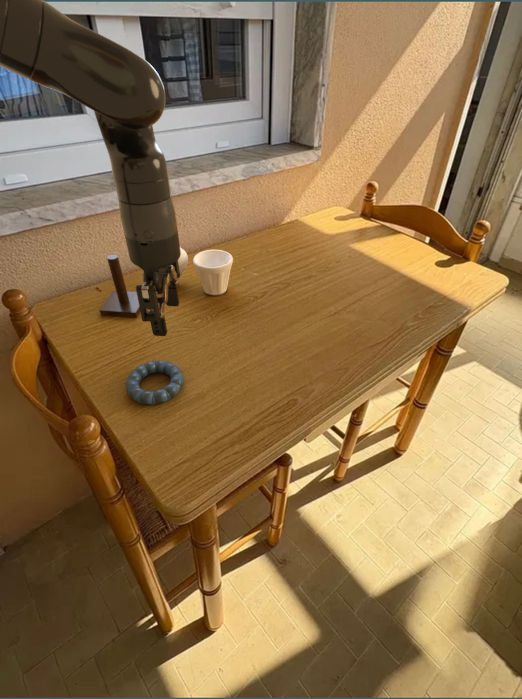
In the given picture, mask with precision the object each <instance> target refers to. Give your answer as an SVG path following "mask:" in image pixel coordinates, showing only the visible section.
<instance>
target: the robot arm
mask: <svg viewBox="0 0 522 699" xmlns="http://www.w3.org/2000/svg"><path fill="white" fill-rule="evenodd" d="M0 67H1V68H3V69H5V70H7V71H8V72H11V73H14V74H16V75H17V76H19V77H21V78H24V79H25V80H28V81H31V82H33V83H35V84H37V85H39V86H42V87H45V88H48V89H50V90H53V91H56V92H58V93H60V94H63V95H65V96H66V97H69V98H70V99H72V100H73V101H75V102H77V103H79V104H80V105H83V106H84V107H86V108H89V109H90V110H92V111H93V113H94V116H95V119H96V122H97V125H98V128H99V131H100V134H101V136H102V140H103V143H104V145H105V148H106V150H107V153H108V157H109V160H110V161H109V162H110V168H111V172H112V177H113V178H112V179H113V183H114V187H115V190H116V195H117V196H116V197H117V200H118V208H119V218H120V221H121V227H122V230H123V235H124V240H125V243H126V247H127V251H128V257H129V261H130V262H131V264H133V265H134V266H136V267H138V268H140V269H141V270H142V271H143V272H142V280H141V281H142V283H143V284H137V285H136V287H135V292H137V297H138V301H139V306H140V316H141V321H142V322H149V323H150V327H151V331H152V332H151V333H152V334H153V336H155V337H166V336H167V335H168V328H167V322H166V321H167V320H166V317H165V305H166V306H167V307H179V305H180V298H179V291H178V287H179V280H177V278H179V277H180V271H179V265H178V259H179V258H180V255H181V251H180V247H181V245H180V238H179V228H178V222H177V215H176V208H175V205H174V201H173V197H172V191H171V184H170V176H169V170H168V163H167V161H166V157H165V154H164V153H163V151H162V149H161V148H160V146H159V145H158V143H157V141H156V137H155V132H154V127H153V125H155V124H156V123H157V122H158V121H159V120H160V119H161V117H162V115H163V113H164V111H165V107H166V92H165V87H164V83H163V81H162V79H161V77H160V75H159V73H158V71H156V69H155V68H154V67H153V66H152V65H151V63H149V62H148V61H147V60H145V59H144V58H143V57H142V56H140V55H139V54H137V53H135V52H134V51H132V50H130V49H129V48H127V47H125V46H123V45H122V44H119V43H117V42H116V41H114V40H112V39H111V38H108V37H106V36H104V35H102V34H100V33H98V32H96V31H94V30H92V29H90V28H89V27H86V26H85V25H82V24H80V23H78V22H76V21H75V20H73V19H71V18H70V17H68V16H67V15H66V14H64V13H63V12H61V11H60V10H58V9H57V8H56V7H55V6H53V5H52V4H50V3H49V2H46V0H0ZM158 295H161V296H160V297H158Z"/></svg>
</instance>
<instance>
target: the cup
mask: <svg viewBox="0 0 522 699" xmlns="http://www.w3.org/2000/svg"><path fill="white" fill-rule="evenodd" d="M192 262H193V266H194V269H195V270H196V273H197V276H198V279H199V281H200V283H201V284H200V285H201V287H202V289H203V292H204V293H205V294H206V295H208V296H211V297H213V296H214V297H215V296H216V297H218V296H221V295H224V294H225V293H226V292H227V290H228V285H229V280H230V274H231V269H232V266H233V263H234V258H233V256H232V254H231V253H230V252H228V251H225V250H222V249H207V250H206V249H205V250H203V251H200V252H197V253H196V254H195V255H194V257H193V259H192Z"/></svg>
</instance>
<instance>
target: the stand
mask: <svg viewBox="0 0 522 699" xmlns="http://www.w3.org/2000/svg"><path fill="white" fill-rule="evenodd" d="M106 260H107V263H108V264H107V265H108V267H109V270H110V271H109V272H110V275H111V277H112V281H113V285H114V288H115V290H113V291H112V292H111V294H110V295H109V296H108V297H107V299H106V300H105V302H104V303H103V304H102V305H101V307H100V309H99V310H98V311H99V313H100V316H103V317H104V316H105V317H118V318H119V317H120V318H134V319H137V318H138V316H139V315H140V314H141V311H140V306H139V301H138V297H137V292H136V291H128V290H127V286H126V283H125V279H124V275H123V271H122V267H121V264H120V263H121V262H120V259H119V256H118V255H117V254H110V255H109V254H108V255H107V257H106Z"/></svg>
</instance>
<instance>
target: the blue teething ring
mask: <svg viewBox="0 0 522 699" xmlns="http://www.w3.org/2000/svg"><path fill="white" fill-rule="evenodd" d="M156 373H159V374H160V373H161V374H166V375H167V376H169V379H170V381H169V382H168V384H167V385H165V387H163V388H161V389H157V390H145V389H143V388H141V386H140V383H141V381H142V380H143V379H144V378H146V377H147V376H149V375H152V374H156ZM184 381H185V377H184V374H183V372H182V370H181V368H180V367H179V366H178V365H176V364H175V363H173V362H171V361H168V360H152V361H147V362H144V363H141V364H140V365H139V366H137V367H135V368H134V369H132V371H131V372H130V373H129V375H128V377H127V379H126V381H125V388H126V392H127V396H128V397H129V398H130V399H131V400H134V401H135V402H136V403H138V404H141V405H142V404H143V405H155V406H156V405H159V404H161V403H165V402H167V401H170V400H171V399H173V397H175V396H177V394H179V392H180V391H181V389H182V387H183V384H184Z"/></svg>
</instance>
